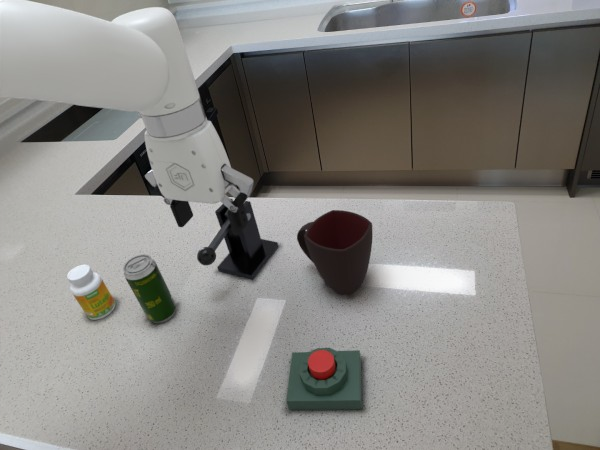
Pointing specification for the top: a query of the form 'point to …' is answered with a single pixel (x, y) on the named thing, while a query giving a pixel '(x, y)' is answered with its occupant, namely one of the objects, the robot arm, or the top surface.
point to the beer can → (149, 288)
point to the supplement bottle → (90, 292)
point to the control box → (325, 383)
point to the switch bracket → (245, 247)
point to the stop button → (321, 364)
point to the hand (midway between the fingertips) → (213, 225)
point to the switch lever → (213, 244)
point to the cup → (339, 248)
